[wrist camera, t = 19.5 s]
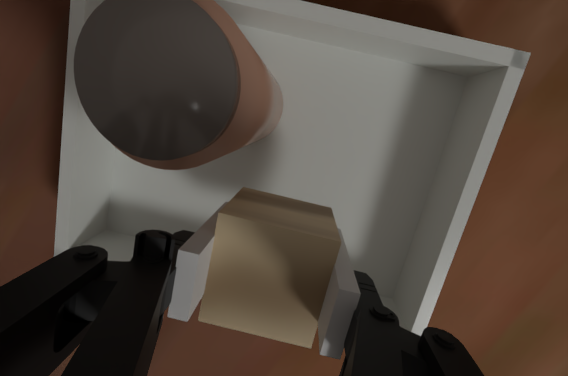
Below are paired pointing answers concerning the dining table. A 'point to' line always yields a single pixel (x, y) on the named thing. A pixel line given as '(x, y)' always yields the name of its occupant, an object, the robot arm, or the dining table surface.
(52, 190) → the dining table surface
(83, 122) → the tote
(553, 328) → the dining table surface
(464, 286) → the dining table surface
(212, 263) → the oak block
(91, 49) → the spice jar
